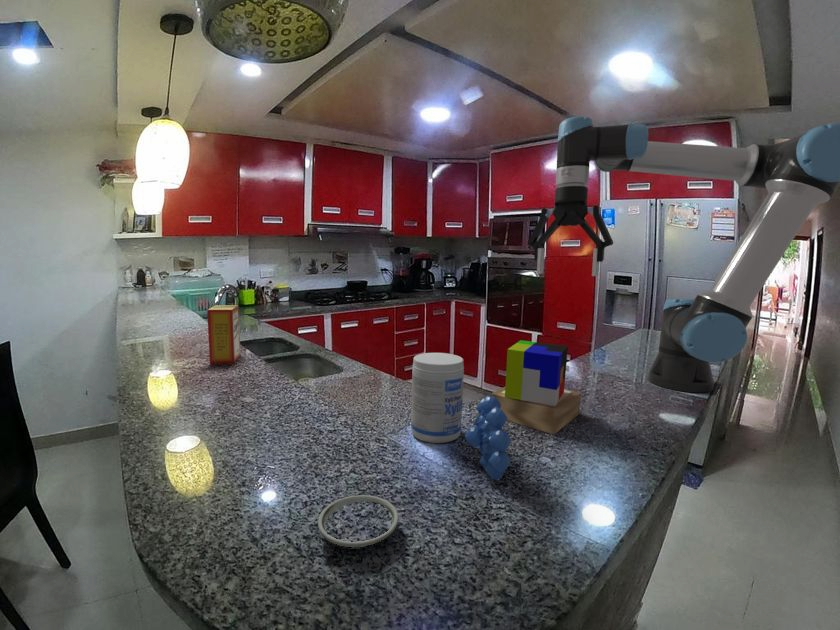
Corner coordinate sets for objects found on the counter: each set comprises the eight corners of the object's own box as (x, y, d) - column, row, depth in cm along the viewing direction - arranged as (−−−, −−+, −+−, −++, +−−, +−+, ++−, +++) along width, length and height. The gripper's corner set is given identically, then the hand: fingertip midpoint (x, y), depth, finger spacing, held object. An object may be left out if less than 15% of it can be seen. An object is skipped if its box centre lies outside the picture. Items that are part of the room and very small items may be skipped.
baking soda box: (234, 362, 125) (231, 308, 122) (209, 363, 123) (207, 308, 121) (240, 354, 134) (238, 304, 131) (217, 355, 132) (215, 304, 130)
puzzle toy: (555, 406, 83) (559, 356, 81) (504, 397, 87) (507, 349, 86) (564, 391, 91) (567, 346, 90) (517, 383, 96) (520, 340, 94)
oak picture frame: (579, 413, 93) (581, 391, 92) (554, 434, 82) (556, 409, 81) (519, 398, 101) (521, 377, 101) (489, 415, 91) (491, 392, 90)
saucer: (393, 507, 58) (394, 491, 58) (402, 558, 49) (403, 539, 48) (320, 513, 56) (320, 496, 56) (315, 567, 47) (315, 547, 47)
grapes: (454, 454, 73) (457, 386, 71) (493, 453, 74) (497, 386, 72) (472, 493, 61) (476, 414, 60) (517, 491, 62) (523, 412, 61)
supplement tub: (454, 449, 75) (458, 367, 73) (403, 440, 78) (405, 361, 75) (465, 427, 84) (469, 354, 82) (419, 420, 87) (421, 349, 85)
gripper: (517, 189, 108) (513, 273, 111) (624, 180, 94) (616, 277, 97) (528, 192, 114) (525, 272, 117) (630, 184, 100) (623, 275, 103)
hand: (566, 274), depth 107 cm, fingers open, 13 cm apart
